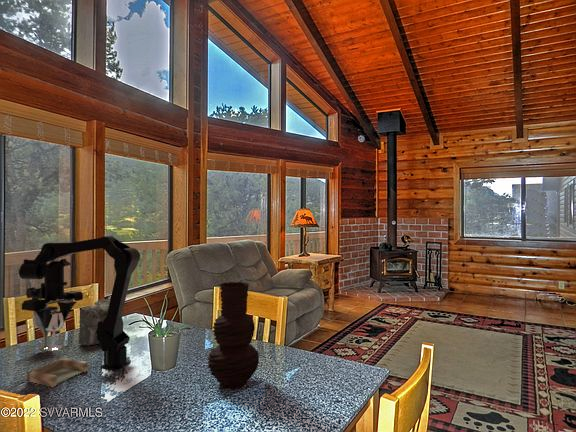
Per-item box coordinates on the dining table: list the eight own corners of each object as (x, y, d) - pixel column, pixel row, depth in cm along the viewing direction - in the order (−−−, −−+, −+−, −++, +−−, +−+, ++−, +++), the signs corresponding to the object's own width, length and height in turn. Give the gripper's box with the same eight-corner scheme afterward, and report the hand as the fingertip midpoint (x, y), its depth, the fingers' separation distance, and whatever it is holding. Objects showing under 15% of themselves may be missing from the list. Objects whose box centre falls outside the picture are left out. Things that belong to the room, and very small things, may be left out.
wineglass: (67, 345, 133) (67, 310, 133) (55, 351, 127) (56, 315, 127) (52, 345, 133) (52, 310, 133) (39, 351, 128) (39, 314, 128)
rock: (107, 294, 168) (125, 291, 165) (115, 330, 169) (134, 328, 166) (67, 310, 148) (87, 307, 145) (77, 352, 149) (98, 350, 146)
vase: (268, 380, 119) (269, 282, 119) (237, 400, 106) (239, 290, 106) (229, 369, 127) (230, 278, 127) (196, 387, 114) (197, 285, 114)
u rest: (87, 371, 124) (87, 362, 124) (52, 387, 112) (53, 377, 112) (63, 367, 127) (63, 357, 127) (27, 382, 116) (27, 372, 116)
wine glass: (49, 352, 140) (49, 311, 140) (27, 352, 140) (28, 311, 141) (62, 345, 148) (63, 306, 148) (42, 345, 148) (42, 306, 148)
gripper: (60, 274, 142) (60, 317, 142) (9, 282, 124) (9, 331, 124) (84, 276, 138) (84, 319, 138) (34, 284, 120) (34, 334, 120)
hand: (54, 325), depth 130 cm, fingers closed on wineglass, 6 cm apart
